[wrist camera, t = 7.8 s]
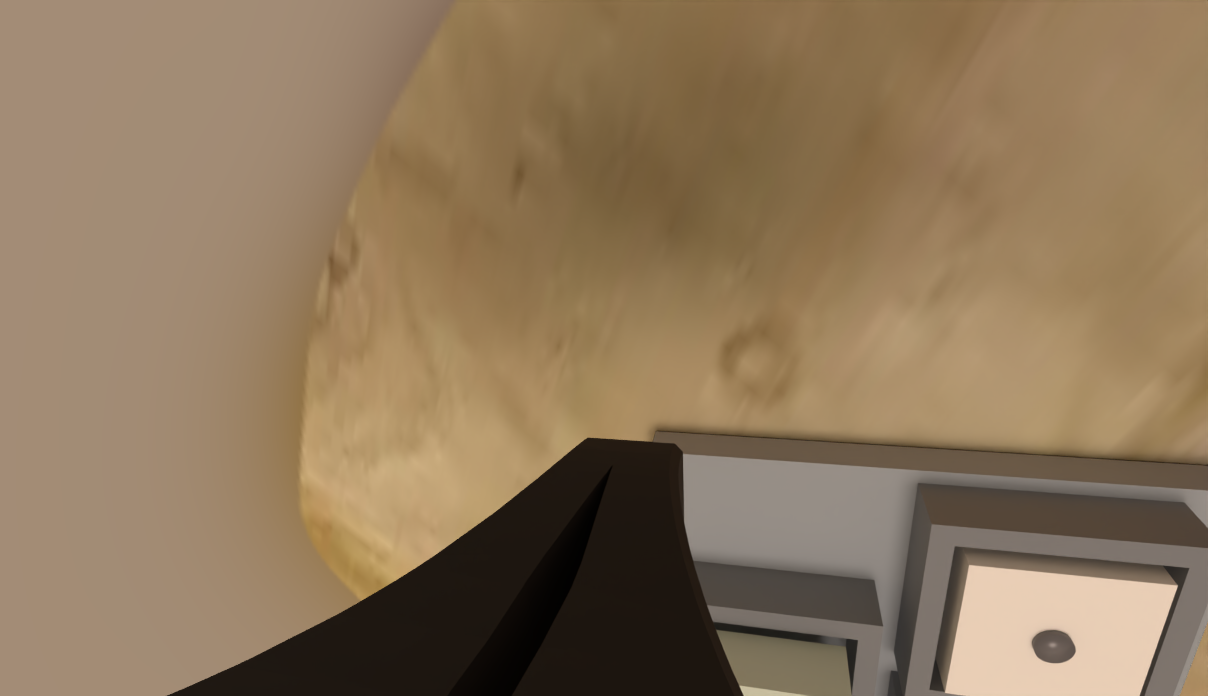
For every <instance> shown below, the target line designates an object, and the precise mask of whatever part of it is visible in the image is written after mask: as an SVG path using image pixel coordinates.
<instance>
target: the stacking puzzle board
mask: <svg viewBox="0 0 1208 696" xmlns="http://www.w3.org/2000/svg"><path fill="white" fill-rule="evenodd" d="M653 442H660V443H675V444H676V445H677V446H678V447H679V448H680V449H681V450H682V451H683V480H684V524H685V528H686V533H687V538H688V542H689V547H690V551H691V554H692V558H693V562H694V565H695V569H696V572H697V575H698V579H699V582H700V585H701V588H702V591H703V595H704V598H705V601H706V604H707V606H708V609H709V612H710V615H711V618H712V620H713V623H714V626H715V629H716V630H721V631H729V632H736V633H744V634H752V635H760V636H767V637H775V638H783V639H791V640H798V641H806V642H814V643H821V644H829V645H837V646H845V647H846V652H847V661H848V669H849V677H850V685H851V694H852V696H963V695H956V694H949V693H945V691H944V688H943V684H942V680H941V676H940V673H939V669H938V665H937V661H936V658H935V655H936V649H937V644H938V638H939V633H940V627H941V621H942V616H943V610H944V604H945V599H946V593H947V587H948V582H949V576H950V570H951V565H952V559H953V553H954V548H955V546H958V547H969V548H980V549H991V550H1001V551H1012V552H1023V553H1034V554H1044V555H1055V556H1066V557H1077V558H1087V559H1098V560H1109V561H1120V562H1130V563H1141V564H1152V565H1163V567H1164V568H1165V569H1166V571H1167V572H1168V573H1169V575H1170V576H1171V577H1172V579H1173V580H1174V581H1175V582H1176V584H1177V585H1178V587H1177V590H1176V593H1175V595H1174V598H1173V601H1172V604H1171V607H1170V610H1169V613H1168V616H1167V618H1166V621H1165V624H1164V627H1163V630H1162V633H1161V636H1160V638H1159V641H1158V644H1157V647H1156V650H1155V653H1154V656H1153V659H1152V661H1151V664H1150V667H1149V670H1148V673H1147V676H1146V679H1145V681H1144V684H1143V687H1142V690H1141V693H1140V696H1180V693H1181V691H1182V688H1183V685H1184V683H1185V680H1186V677H1187V675H1188V672H1189V670H1190V667H1191V664H1192V662H1193V659H1194V657H1195V654H1196V651H1197V649H1198V646H1199V643H1200V641H1201V638H1202V636H1203V633H1204V630H1205V628H1206V625H1207V622H1208V466H1204V465H1188V464H1172V463H1156V462H1140V461H1124V460H1108V459H1092V458H1076V457H1060V456H1044V455H1028V454H1012V453H996V452H980V451H964V450H948V449H932V448H916V447H900V446H884V445H868V444H852V443H836V442H820V441H804V440H788V439H772V438H756V437H740V436H724V435H708V434H691V433H675V432H659V431H656V433H655V436H654V439H653Z"/></svg>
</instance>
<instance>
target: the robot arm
mask: <svg viewBox="0 0 1208 696" xmlns="http://www.w3.org/2000/svg"><path fill="white" fill-rule="evenodd" d="M167 696H744V695H743V693H742V691H741V688H740V686H739V684H738V682H737V679H736V677H735V675H734V673H733V671H732V668H731V666H730V664H729V661H728V659H727V656H726V654H725V651H724V649H723V646H722V644H721V641H720V639H719V636H718V634H717V631H716V629H715V626H714V623H713V620H712V618H711V615H710V612H709V609H708V606H707V604H706V601H705V598H704V595H703V591H702V588H701V585H700V582H699V579H698V575H697V572H696V569H695V565H694V562H693V558H692V554H691V551H690V547H689V542H688V538H687V533H686V528H685V524H684V480H683V451H682V450H681V449H680V448H679V447H678V446H677V445H676V444H675V443H660V442H645V441H630V440H615V439H600V438H587V439H585V440H584V441H583V442H581V443H580V444H579V445H577V446H576V447H575V448H574V449H572V450H571V451H570V452H569V453H568V454H566V455H565V456H564V457H563V458H562V459H560V460H559V461H558V462H557V463H556V464H554V465H553V466H552V467H551V468H550V469H548V470H547V471H546V472H545V473H544V474H542V475H541V476H540V477H539V478H538V479H536V480H535V481H534V482H533V483H531V484H530V485H529V486H528V487H526V488H525V489H524V490H523V491H521V492H520V493H519V494H517V495H516V496H515V497H514V498H512V499H511V500H510V501H509V502H507V503H506V504H505V505H504V506H502V507H501V508H500V509H499V510H497V511H496V512H495V513H493V514H492V515H491V516H489V517H488V518H486V519H485V520H484V521H482V522H481V523H480V524H478V525H477V526H475V527H474V528H473V529H471V530H470V531H468V532H467V533H466V534H464V535H463V536H461V537H460V538H459V539H457V540H456V541H454V542H453V543H452V544H450V545H449V546H447V547H446V548H445V549H443V550H442V551H440V552H439V553H438V554H436V555H435V556H433V557H432V558H430V559H429V560H427V561H426V562H424V563H423V564H421V565H420V566H418V567H417V568H415V569H414V570H412V571H410V572H409V573H407V574H406V575H404V576H402V577H401V578H399V579H398V580H396V581H394V582H393V583H391V584H389V585H388V586H386V587H384V588H383V589H381V590H379V591H377V592H376V593H374V594H372V595H371V596H369V597H367V598H366V599H364V600H362V601H360V602H359V603H357V604H356V605H354V606H352V607H350V608H348V609H347V610H345V611H343V612H341V613H339V614H337V615H336V616H333V617H332V618H330V619H328V620H326V621H324V622H322V623H320V624H318V625H316V626H314V627H312V628H310V629H308V630H306V631H304V632H302V633H300V634H298V635H296V636H294V637H292V638H290V639H288V640H286V641H285V642H282V643H280V644H278V645H276V646H274V647H272V648H271V649H269V650H267V651H265V652H263V653H261V654H259V655H257V656H255V657H253V658H251V659H249V660H246V661H244V662H242V663H240V664H238V665H236V666H234V667H231V668H229V669H227V670H225V671H222V672H220V673H218V674H216V675H213V676H211V677H209V678H207V679H205V680H202V681H200V682H198V683H196V684H193V685H191V686H189V687H187V688H185V689H182V690H179V691H177V692H175V693H173V694H170V695H167Z"/></svg>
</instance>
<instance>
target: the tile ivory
mask: <svg viewBox="0 0 1208 696" xmlns="http://www.w3.org/2000/svg"><path fill="white" fill-rule="evenodd" d="M1177 587H1178V585H1177V584H1176V582H1175V581H1174V580H1173V579H1172V577H1171V576H1170V575H1169V573H1168V572H1167V571H1166V569H1165V568H1164V567H1163V565H1152V564H1141V563H1130V562H1120V561H1109V560H1098V559H1087V558H1077V557H1066V556H1055V555H1044V554H1034V553H1023V552H1012V551H1001V550H991V549H980V548H969V547H958V546H955V548H954V553H953V559H952V565H951V570H950V576H949V582H948V587H947V593H946V599H945V604H944V610H943V616H942V621H941V627H940V633H939V638H938V644H937V649H936V655H935V658H936V661H937V665H938V669H939V673H940V676H941V680H942V684H943V688H944V691H945V693H949V694H956V695H963V696H1140V693H1141V690H1142V687H1143V684H1144V681H1145V679H1146V676H1147V673H1148V670H1149V667H1150V664H1151V661H1152V659H1153V656H1154V653H1155V650H1156V647H1157V644H1158V641H1159V638H1160V636H1161V633H1162V630H1163V627H1164V624H1165V621H1166V618H1167V616H1168V613H1169V610H1170V607H1171V604H1172V601H1173V598H1174V595H1175V593H1176V590H1177Z"/></svg>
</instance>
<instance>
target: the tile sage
mask: <svg viewBox="0 0 1208 696" xmlns="http://www.w3.org/2000/svg"><path fill="white" fill-rule="evenodd" d="M716 631H717V634H718V636H719V639H720V641H721V644H722V646H723V649H724V651H725V654H726V656H727V659H728V661H729V664H730V666H731V668H732V671H733V673H734V675H735V677H736V679H737V682H738V684H739V686H740V688H741V691H742V693H743V695H744V696H852V694H851V685H850V677H849V669H848V661H847V652H846V647H845V646H837V645H829V644H821V643H814V642H806V641H798V640H791V639H783V638H775V637H767V636H760V635H752V634H744V633H736V632H729V631H721V630H716Z"/></svg>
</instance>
